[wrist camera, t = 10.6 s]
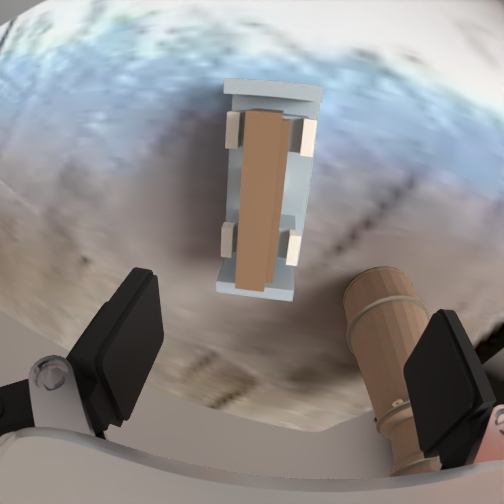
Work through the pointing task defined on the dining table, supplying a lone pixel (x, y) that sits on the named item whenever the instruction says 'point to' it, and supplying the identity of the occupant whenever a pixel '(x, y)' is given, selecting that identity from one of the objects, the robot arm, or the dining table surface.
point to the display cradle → (296, 178)
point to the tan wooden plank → (261, 196)
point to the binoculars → (388, 356)
